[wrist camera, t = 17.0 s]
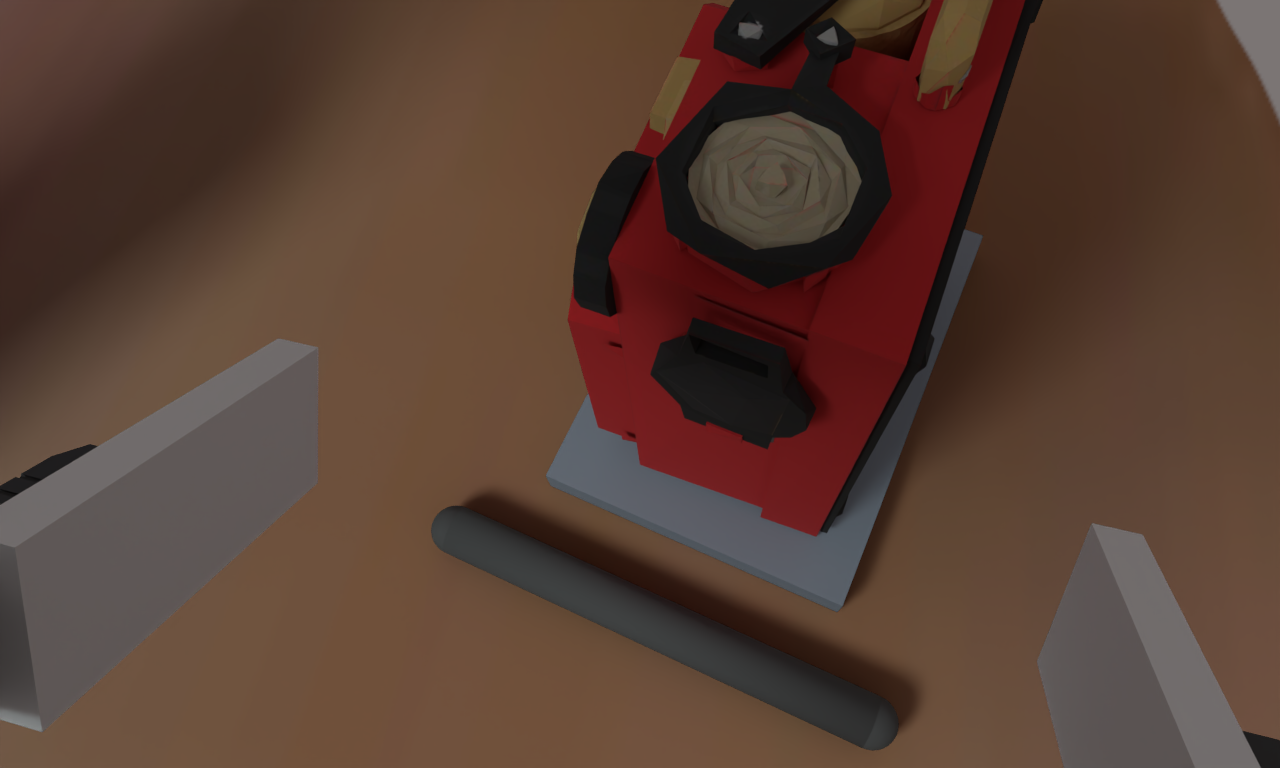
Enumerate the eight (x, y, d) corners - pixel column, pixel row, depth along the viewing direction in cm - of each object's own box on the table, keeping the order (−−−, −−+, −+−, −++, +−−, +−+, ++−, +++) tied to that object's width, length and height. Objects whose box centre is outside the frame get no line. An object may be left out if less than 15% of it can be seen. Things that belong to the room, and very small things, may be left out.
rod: (429, 547, 41) (416, 536, 39) (452, 505, 41) (440, 492, 39) (882, 760, 36) (892, 759, 35) (900, 709, 37) (911, 706, 35)
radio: (717, 177, 45) (733, -240, 26) (929, 243, 43) (1108, -157, 25) (585, 481, 40) (491, 226, 21) (821, 570, 38) (943, 375, 19)
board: (550, 485, 41) (545, 475, 40) (715, 161, 47) (715, 142, 46) (837, 612, 39) (842, 606, 37) (974, 252, 44) (983, 235, 43)
